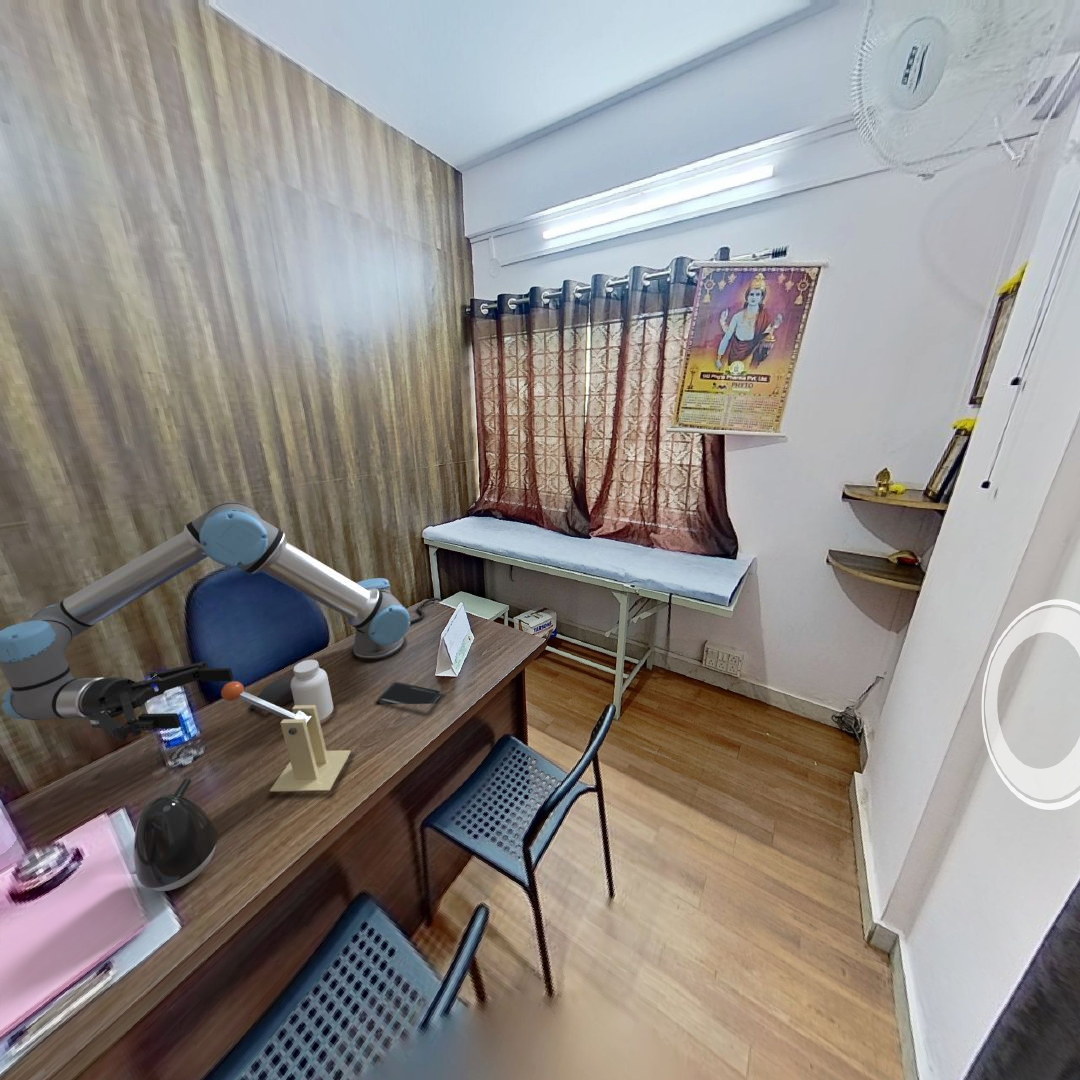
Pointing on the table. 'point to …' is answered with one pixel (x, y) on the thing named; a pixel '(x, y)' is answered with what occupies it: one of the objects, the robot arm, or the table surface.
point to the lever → (258, 701)
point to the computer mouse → (277, 692)
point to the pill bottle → (312, 687)
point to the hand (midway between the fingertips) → (206, 695)
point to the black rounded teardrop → (173, 841)
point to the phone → (409, 695)
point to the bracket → (308, 755)
